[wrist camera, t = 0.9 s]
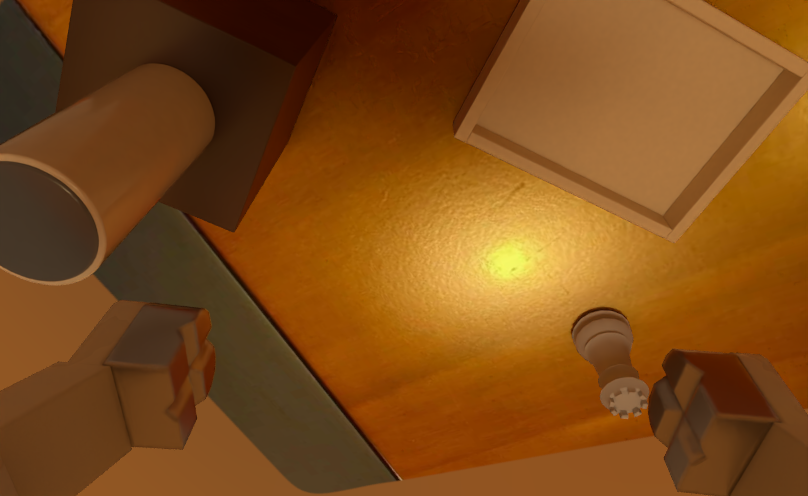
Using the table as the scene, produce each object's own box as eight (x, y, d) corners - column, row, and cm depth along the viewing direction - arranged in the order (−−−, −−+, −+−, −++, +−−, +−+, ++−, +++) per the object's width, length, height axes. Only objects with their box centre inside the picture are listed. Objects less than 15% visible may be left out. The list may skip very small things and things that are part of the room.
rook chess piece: (584, 358, 47) (609, 436, 40) (561, 321, 45) (583, 396, 39) (637, 336, 46) (672, 414, 39) (615, 297, 44) (648, 371, 37)
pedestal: (155, 83, 37) (47, 156, 27) (190, -60, 33) (78, -39, 22) (287, 143, 39) (233, 233, 28) (337, 15, 34) (296, 66, 24)
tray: (452, 123, 37) (453, 137, 35) (562, -79, 31) (572, -77, 29) (661, 224, 41) (674, 244, 38) (799, 60, 34) (824, 71, 32)
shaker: (106, 135, 26) (-56, 253, 17) (125, 44, 24) (-49, 128, 15) (201, 175, 27) (90, 308, 18) (227, 91, 25) (117, 196, 16)
